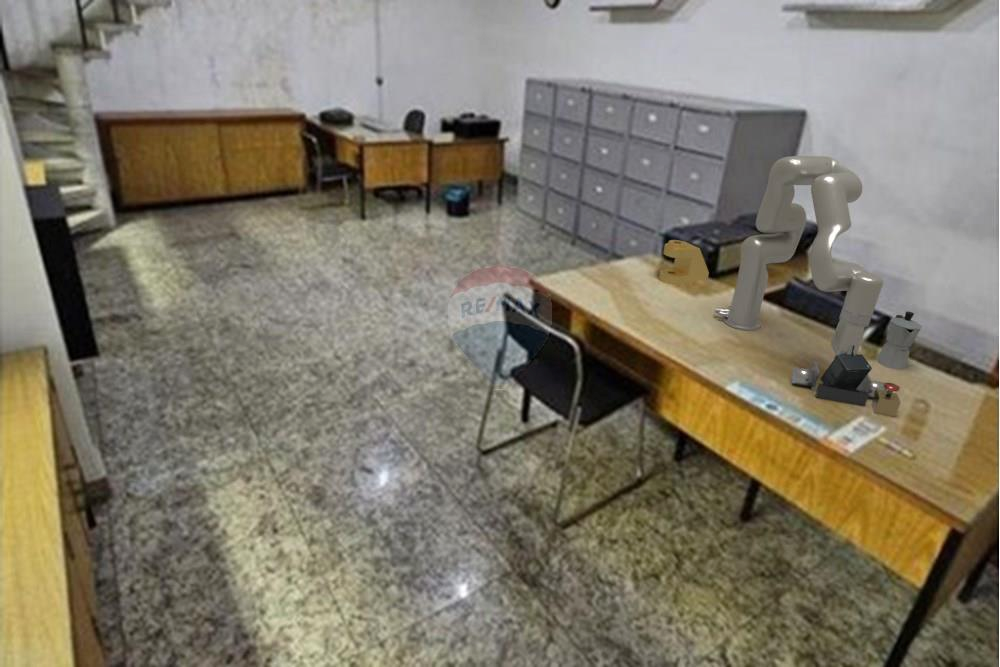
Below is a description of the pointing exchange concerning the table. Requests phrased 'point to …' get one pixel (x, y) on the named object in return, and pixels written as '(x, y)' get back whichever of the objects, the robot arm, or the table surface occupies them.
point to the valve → (886, 400)
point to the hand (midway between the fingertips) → (836, 373)
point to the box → (847, 371)
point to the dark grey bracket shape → (836, 387)
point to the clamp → (684, 263)
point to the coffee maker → (899, 342)
